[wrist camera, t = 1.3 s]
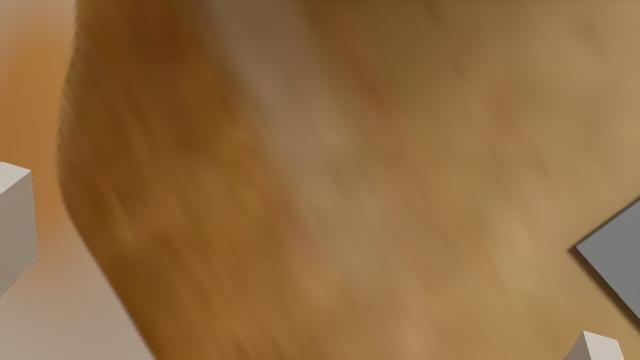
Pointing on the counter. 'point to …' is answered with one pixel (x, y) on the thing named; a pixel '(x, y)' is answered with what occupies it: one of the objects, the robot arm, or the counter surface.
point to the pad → (618, 254)
